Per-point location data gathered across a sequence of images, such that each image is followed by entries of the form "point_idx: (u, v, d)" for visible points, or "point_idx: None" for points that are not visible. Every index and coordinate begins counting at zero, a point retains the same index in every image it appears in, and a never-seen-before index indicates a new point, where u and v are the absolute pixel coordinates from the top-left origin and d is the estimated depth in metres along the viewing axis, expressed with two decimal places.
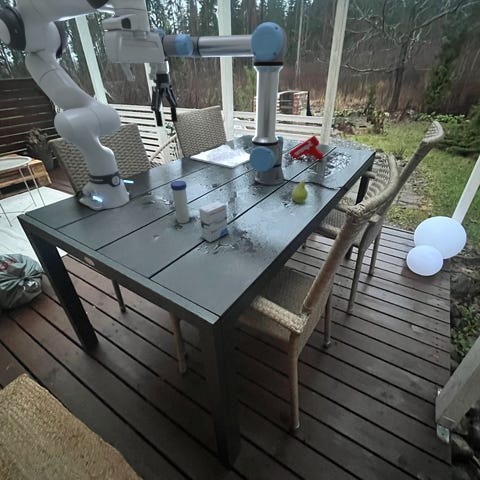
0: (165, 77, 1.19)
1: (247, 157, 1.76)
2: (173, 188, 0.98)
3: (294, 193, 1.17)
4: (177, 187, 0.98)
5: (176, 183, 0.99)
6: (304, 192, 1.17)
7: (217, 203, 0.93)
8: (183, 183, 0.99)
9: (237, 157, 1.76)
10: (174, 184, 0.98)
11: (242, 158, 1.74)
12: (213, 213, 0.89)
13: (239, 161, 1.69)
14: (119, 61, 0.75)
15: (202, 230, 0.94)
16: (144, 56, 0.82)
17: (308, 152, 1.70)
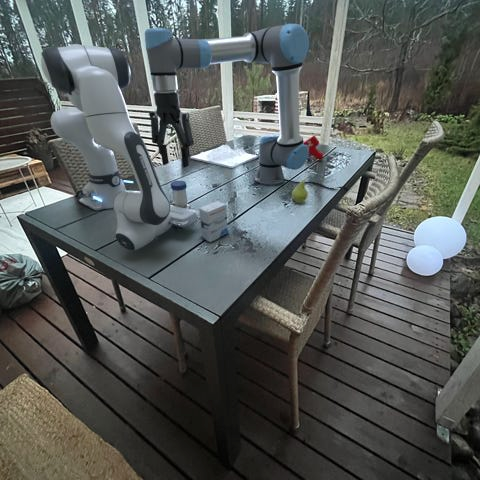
0: (155, 98, 0.82)
1: (247, 157, 1.76)
2: (173, 188, 0.98)
3: (294, 193, 1.17)
4: (177, 187, 0.98)
5: (176, 183, 0.99)
6: (304, 192, 1.17)
7: (217, 203, 0.93)
8: (183, 183, 0.99)
9: (237, 157, 1.76)
10: (174, 184, 0.98)
11: (242, 158, 1.74)
12: (213, 213, 0.89)
13: (239, 161, 1.69)
14: None
15: (202, 230, 0.94)
16: None
17: None
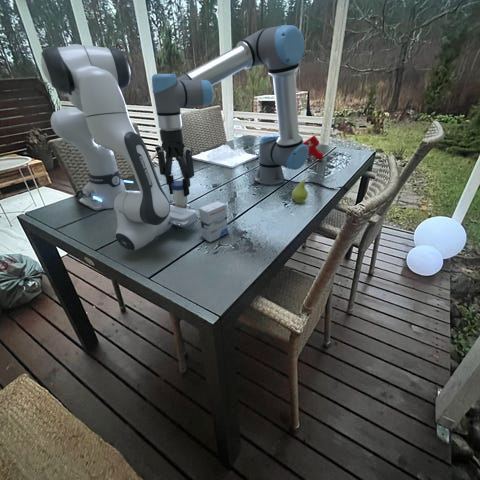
0: (161, 135, 0.88)
1: (247, 157, 1.76)
2: (173, 188, 0.98)
3: (294, 193, 1.17)
4: (177, 187, 0.98)
5: (176, 183, 0.99)
6: (304, 192, 1.17)
7: (217, 203, 0.93)
8: None
9: (237, 157, 1.76)
10: (174, 184, 0.98)
11: (242, 158, 1.74)
12: (213, 213, 0.89)
13: (239, 161, 1.69)
14: None
15: (202, 230, 0.94)
16: None
17: None
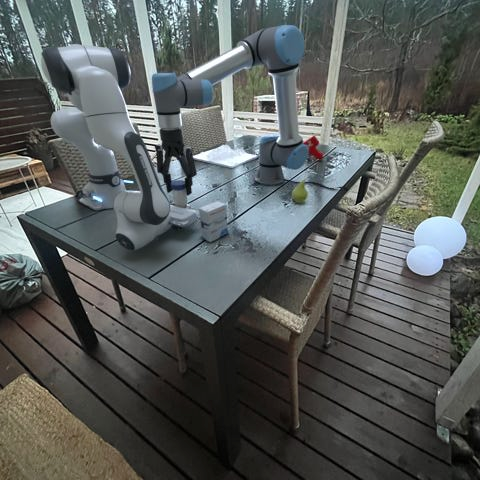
0: (161, 134, 0.88)
1: (247, 157, 1.76)
2: (183, 187, 0.98)
3: (294, 193, 1.17)
4: None
5: (178, 183, 0.99)
6: (304, 192, 1.17)
7: (217, 203, 0.93)
8: (181, 180, 1.01)
9: (237, 157, 1.76)
10: (180, 184, 0.98)
11: (242, 158, 1.74)
12: (213, 213, 0.89)
13: (239, 161, 1.69)
14: None
15: (202, 230, 0.94)
16: None
17: None
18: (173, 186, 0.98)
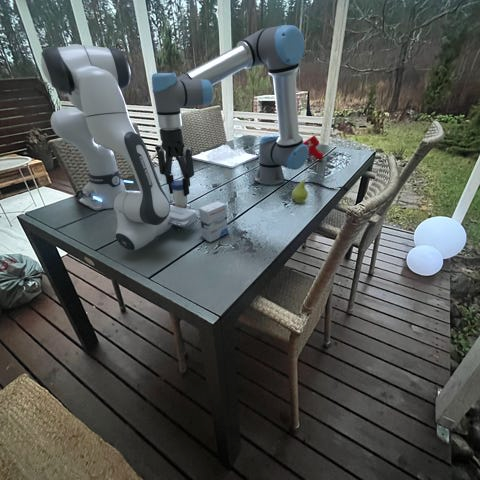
0: (161, 134, 0.88)
1: (247, 157, 1.76)
2: None
3: (294, 193, 1.17)
4: None
5: (178, 183, 0.99)
6: (304, 192, 1.17)
7: (217, 203, 0.93)
8: (180, 180, 1.01)
9: (237, 157, 1.76)
10: (180, 184, 0.98)
11: (242, 158, 1.74)
12: (213, 213, 0.89)
13: (239, 161, 1.69)
14: None
15: (202, 230, 0.94)
16: None
17: None
18: (173, 186, 0.98)
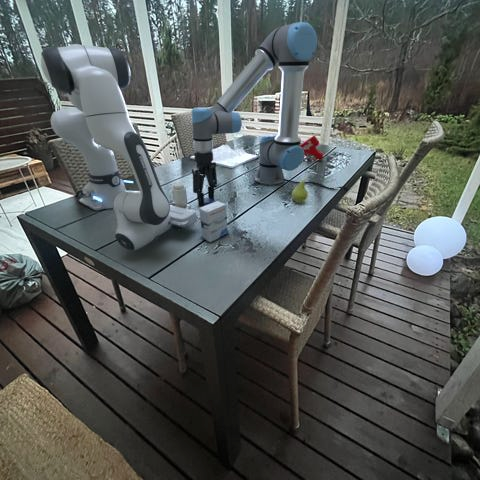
0: (208, 156, 1.06)
1: (247, 157, 1.76)
2: None
3: (294, 193, 1.17)
4: None
5: (208, 200, 1.20)
6: (304, 192, 1.17)
7: (217, 203, 0.93)
8: None
9: (237, 157, 1.76)
10: (210, 199, 1.20)
11: (242, 158, 1.74)
12: (213, 213, 0.89)
13: (239, 161, 1.69)
14: None
15: (202, 230, 0.94)
16: None
17: (308, 152, 1.70)
18: None
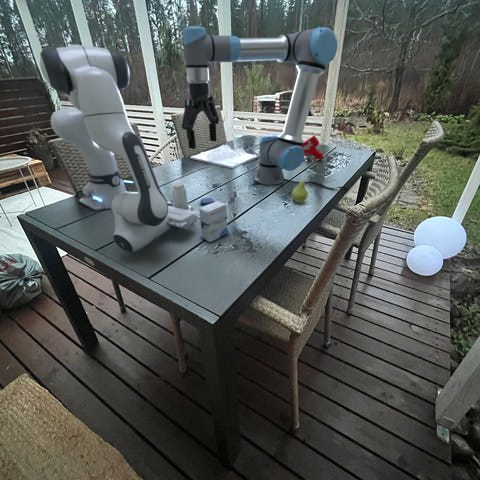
0: (203, 87, 0.94)
1: (247, 157, 1.76)
2: None
3: (294, 193, 1.17)
4: None
5: (208, 200, 1.20)
6: (304, 192, 1.17)
7: (217, 203, 0.93)
8: (203, 199, 1.21)
9: (237, 157, 1.76)
10: (210, 199, 1.20)
11: (242, 158, 1.74)
12: (213, 213, 0.89)
13: (239, 161, 1.69)
14: None
15: (202, 230, 0.94)
16: None
17: (308, 152, 1.70)
18: None
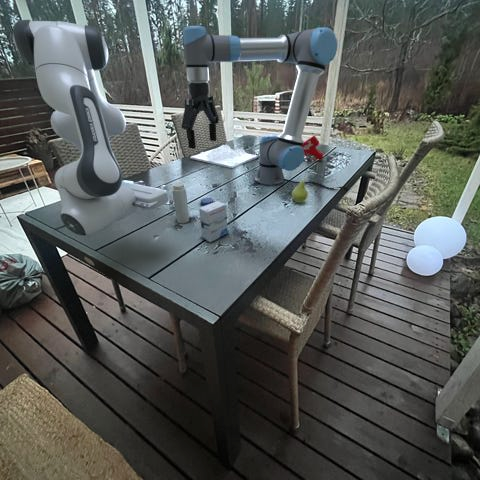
0: (203, 87, 0.94)
1: (247, 157, 1.76)
2: None
3: (294, 193, 1.17)
4: None
5: (208, 200, 1.20)
6: (304, 192, 1.17)
7: (217, 203, 0.93)
8: (203, 199, 1.21)
9: (237, 157, 1.76)
10: (210, 199, 1.20)
11: (242, 158, 1.74)
12: (213, 213, 0.89)
13: (239, 161, 1.69)
14: None
15: (202, 230, 0.94)
16: None
17: (308, 152, 1.70)
18: None
